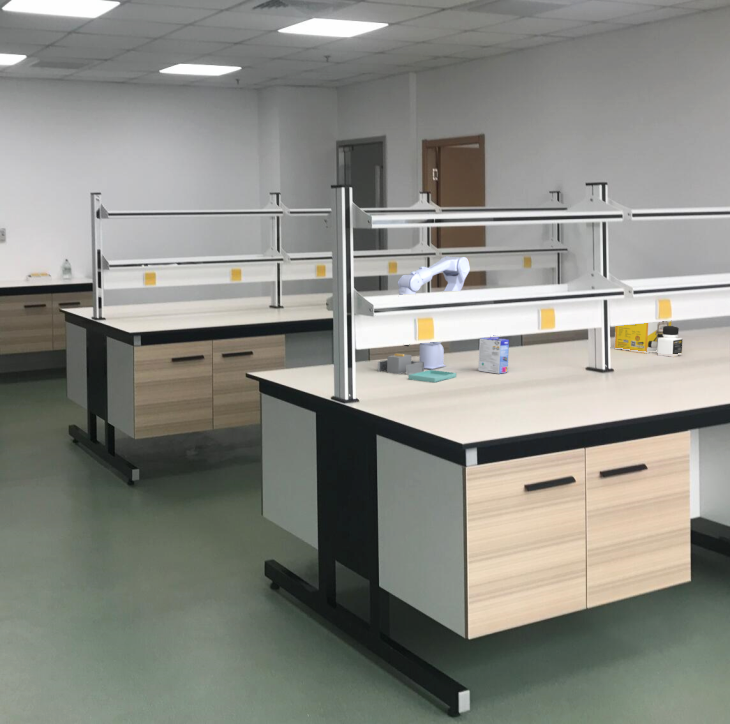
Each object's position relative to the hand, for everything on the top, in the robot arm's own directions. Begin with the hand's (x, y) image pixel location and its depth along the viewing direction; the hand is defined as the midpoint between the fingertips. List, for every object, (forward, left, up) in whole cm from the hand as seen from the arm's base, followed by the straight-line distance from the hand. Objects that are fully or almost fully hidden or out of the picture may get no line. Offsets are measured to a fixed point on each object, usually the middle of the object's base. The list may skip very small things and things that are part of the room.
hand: (397, 344), depth 349 cm
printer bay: (-2, 0, -10) cm, 10 cm away
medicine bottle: (-103, +63, -10) cm, 121 cm away
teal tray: (+2, +17, -10) cm, 20 cm away
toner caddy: (-2, 0, -10) cm, 10 cm away
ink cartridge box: (-23, +27, -10) cm, 36 cm away
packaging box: (-112, +48, -10) cm, 122 cm away
